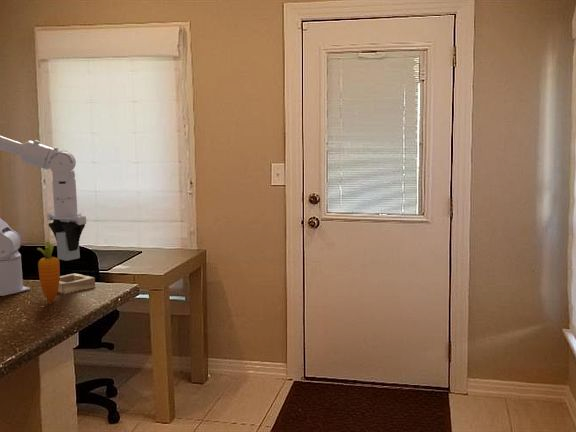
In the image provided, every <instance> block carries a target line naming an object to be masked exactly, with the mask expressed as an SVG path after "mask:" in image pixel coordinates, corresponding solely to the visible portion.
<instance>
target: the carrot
mask: <svg viewBox="0 0 576 432" xmlns="http://www.w3.org/2000/svg"><path fill="white" fill-rule="evenodd" d="M45 245H46V246H44V248H45V250H44V249H43V248H41V247H37V249H36V251H39V253H40V252H41V254H42V255H43V256H44V257H42V258H40V259H39V260H38V263H37V268H38V275H39V283H40V286H41V290H42V292H43V295H44V297H45V299H46V300H47V302H48V303H49V304H51V303H52V304H54V302H55V300H56V297H57V294H58V293H59V292H58V288H59V280H60V276H61V273H60V272H61V269H60V268H61V267H60V262H61V261H60V259H58V257H55V256H52V253H53V252H54V247H55V245H53V244H51V243H50V242H49V241H46V242H45Z"/></svg>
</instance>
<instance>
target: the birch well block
mask: <svg viewBox="0 0 576 432" xmlns="http://www.w3.org/2000/svg"><path fill="white" fill-rule="evenodd" d="M93 288H96V278H95V277H94V276H89V275H84V274H81V273H75V272H74V273H70V274H65V275H60V280H59V288H58V292H57V293H59V292H60V293H59V294H63V293H64V294H63V295H68V294H72V293H75V292H74V291H76V292H80V291H79V290H81V291H83V289H85V290H88V289H93ZM71 292H72V293H71ZM67 293H68V294H67Z"/></svg>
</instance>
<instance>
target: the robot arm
mask: <svg viewBox="0 0 576 432" xmlns="http://www.w3.org/2000/svg"><path fill="white" fill-rule="evenodd" d="M40 142H41V141H39V140H37V139H34V140H33V141H32V140H28V141H26V142H23V143H21V142H19V141H17V140H14V139H11V138H8V137H5V136H2V135H0V151H2V152H3V151H4V152H7V153H10V154H13V155H17V156H19V158H20V160H21V162H22V163H25V164H28V165H32V166H35V167H39V168H41V169H44V170H49V169H50V172H52V173H51V175H52V183H51V184H52V196H53V212H47V213H46V219H47V221H52V222H49V223H48V227H49V228H50V230H51V231H52V233H53V235H54V238H55V241H56V242H57V240H56V233H57V232H63V231H65V234H66V237H67V243H68V248H69V251H74V250H77V249H78V244H79V245H80V238H81V235H82V233H83V230H84V229H85V226H86V225H87V217H86V216H84V215H82V213H81V212H78V202H77V201H78V199H77V197H78V196H77V184H76V183H77V182H76V177H75V176H76V173H75V170H74V169H75V167H76V164H77V163H76V162H77V161H76V158H75V156H74V154H72V153H71V152H69V151H67V150H60V151H59V147H58V146H57V147H56V146H55V147H50V146H48V145H45V144H42V143H40ZM21 246H22V236H21V235H20V234H19V233H18V232H17V231H15V230H14V229H12V228H11V227H10V225H9V223H7V222H6V221H5V220H3V218H1V217H0V297H4V296H9V295H13V294H18V293H22V292H26V291H30V290H31V287H29V286H24V281H23V269H22V254H21V253H20V252H19V249H20V248H21Z"/></svg>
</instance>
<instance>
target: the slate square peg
mask: <svg viewBox="0 0 576 432" xmlns="http://www.w3.org/2000/svg"><path fill="white" fill-rule="evenodd" d="M56 240H57V241H56ZM55 241H56V252H57V258H58V259H59V260H62V261H73V260H78V259H80V258H81V255H80V254H81V252H80V243H79V244H78V249H77V250H74V251H69V248H68V243H67V237H66V234H65V231H63V232H57V233H56V238H55Z"/></svg>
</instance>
